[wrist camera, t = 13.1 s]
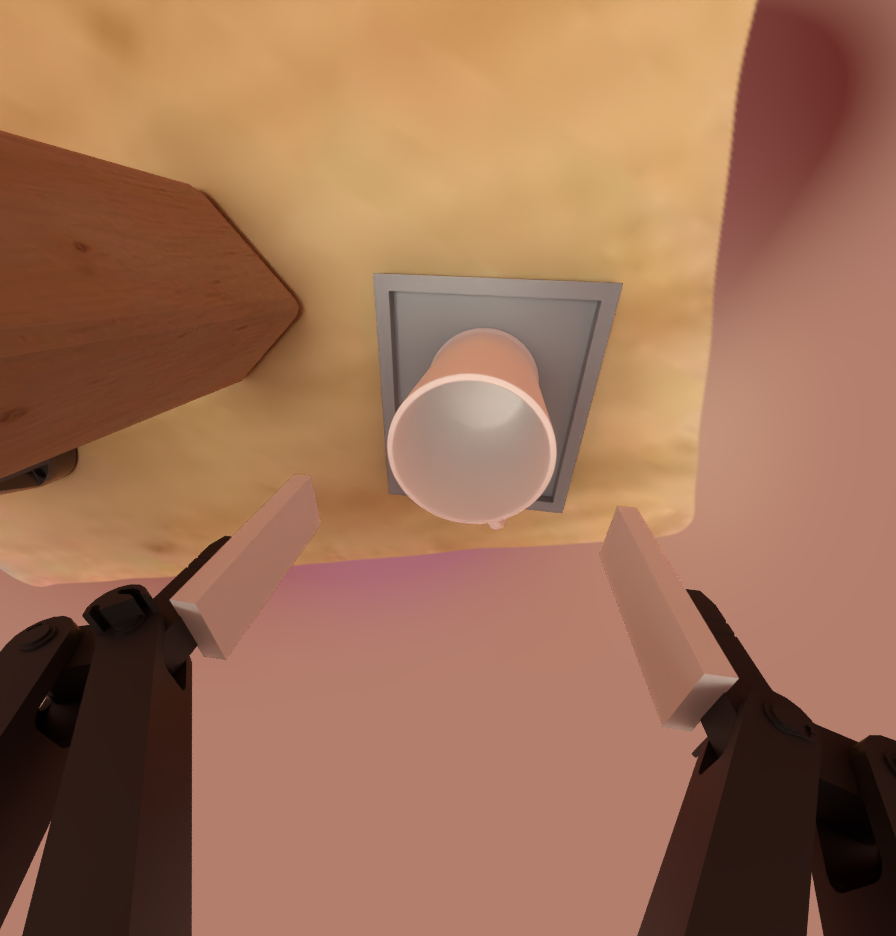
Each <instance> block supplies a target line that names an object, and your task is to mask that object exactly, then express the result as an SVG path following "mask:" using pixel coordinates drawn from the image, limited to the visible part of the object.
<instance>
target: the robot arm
mask: <svg viewBox="0 0 896 936" xmlns="http://www.w3.org/2000/svg"><path fill="white" fill-rule="evenodd" d="M75 463H76V450H75V448H74V449H72V450H70V451H67V452H65V453H62V454H60V455H57V456H55V457H52V458H50V459H47V460H45V461H42V462H40V463H38V464H35V465H33V466H30V467H28V468H25V469H23V470H20V471H18V472H15V473H13V474H10V475H8V476H6V477H3V478H1V479H0V495H2V494H7V493H12V492H17V491H22V490H27V489H32V488H37V487H41V486H44V485H47V484H49V483H51V482H53V481H55V480H58V479H60V478H62V477H64V476H66V475H68V474H69V473H70V472H71V471H72V470H73V468H74V466H75ZM320 525H321V522H320V517H319V512H318V507H317V503H316V498H315V493H314V488H313V484H312V479H311V476H306V475H296V474H294V475H293V476H292V477H291V478H290V479H289V480H288V481H287V482H286V483H285V484H284V485H283V486H282V487H281V488H280V489H279V490H278V491H277V492H276V493H275V494H274V495H273V496H272V497H271V498H270V499H269V500H268V501H267V502H266V503H265V504H264V505H263V506H262V507H261V508H260V509H259V510H258V511H257V512H256V513H255V514H254V515H253V516H252V517H251V518H250V519H249V520H248V521H247V522H246V523H245V524H244V525H243V526H242V527H241V528H240V529H239V530H238V531H237V532H236V533H235V534H234V535H233V536H232V537H230V536H224V537H222V538H221V539H219V540H217V541H216V542H214V543H212V544H210V545H209V546H208V547H207V548H206V549H205V550H204V551H203V552H202V553H201V554H200V555H199V556H198V558H195V559H194V560H193V561H192V562H191V563H190V564H189V566H188V568H187V567H186V568H185V569H184V570H183V571H182V572H181V573H180V574H179V575H178V576H177V577H176V578H175V579H173V580H172V581H171V582H170V583H169V584H168V585H167V586H166V587H165V588H164V589H163V590H162V591H161V592H160V593H159V594H158V595H157V596H156V597H155V598H153V599H152V597H151V595H150V594H149V592H148V591H147V589H146V588H145V587H143V586H141V585H126V586H122V587H118V588H116V589H114V590H111V591H109V592H107V593H105V594H104V595H102V596H100V597H99V598H97V599H96V600H95V601H94V602H92V603H91V604H90V605H89V606H88V607H87V608H86V610H85V612H84V613H83V617H84V619H85V620H86V621H87V622H88V623H89V625H85V626H77V625H76V623H75V622H74V621H73V620H72V619H71V618H69V617H66V616H59V617H52V618H49V619H46V620H43V621H40V622H38V623H36V624H34V625H32V626H30V627H28V628H26V629H25V630H23V631H22V632H20V633H19V634H17V635H16V636H15V637H14V638H13V639H12V640H11V641H9V642H8V643H7V644H6V645H5V647H4V648H3V649H2V651H1V652H0V928H1V926H2V924H3V922H4V919H5V918H6V915H7V913H8V911H9V909H10V907H11V905H12V903H13V901H14V898H15V896H16V894H17V892H18V890H19V888H20V885H21V883H22V881H23V879H24V877H25V875H26V873H27V871H28V868H29V866H30V864H31V862H32V860H33V858H34V856H35V853H36V851H37V849H38V847H39V845H40V842H41V841H42V839H43V836H44V834H45V832H46V830H47V828H48V826H49V824H50V822H51V824H50V828H49V832H48V836H47V840H46V844H45V848H44V851H43V855H42V859H41V863H40V868H39V871H38V876H37V879H36V884H35V887H34V891H33V895H32V899H31V903H30V907H29V911H28V915H27V919H26V923H25V927H24V931H23V935H22V936H192V935H191V934H192V931H191V930H192V929H191V928H192V925H191V924H192V923H191V922H192V919H191V918H192V917H191V915H192V907H191V906H192V661H191V658H190V656H189V655H190V654H191V653H192V652H193V650H194V649H195V648H196V647H197V646H198V648H199V649H200V651H201V653H202V654H203V656H204V657H210V658H216V659H223V660H227V658H228V657H229V655H230V654H231V652H232V651H233V650H234V648H235V647H236V645H237V644H238V642H239V641H240V640H241V638H242V637H243V635H244V634H245V632H246V631H247V629H248V628H249V627H250V625H251V624H252V622H253V621H254V619H255V618H256V617H257V615H258V614H259V612H260V611H261V609H262V608H263V606H264V605H265V604H266V602H267V601H268V599H269V598H270V596H271V595H272V594H273V592H274V591H275V589H276V588H277V586H278V585H279V583H280V582H281V581H282V579H283V578H284V576H285V575H286V573H287V572H288V571H289V569H290V568H291V566H292V565H293V563H294V562H295V560H296V559H297V558H298V556H299V555H300V553H301V552H302V550H303V549H304V548H305V546H306V545H307V543H308V542H309V540H310V539H311V537H312V536H313V535H314V533H315V532H316V530H317V529H318V527H319V526H320ZM600 558H601V561H602V563H603V566H604V569H605V572H606V575H607V577H608V580H609V583H610V585H611V588H612V591H613V593H614V596H615V599H616V602H617V604H618V607H619V610H620V613H621V615H622V618H623V621H624V624H625V626H626V629H627V632H628V635H629V637H630V640H631V643H632V645H633V648H634V651H635V654H636V656H637V659H638V662H639V665H640V667H641V670H642V673H643V675H644V678H645V681H646V684H647V686H648V689H649V692H650V695H651V697H652V700H653V703H654V705H655V708H656V711H657V713H658V716H659V719H660V721H661V725H662V727H667V728H673V729H679V730H686V731H692V730H693V729H694V728H695V727H696V725H697V724H698V723H699V722H700V721H701V723H702V725H703V727H704V729H705V732H706V734H707V736H708V737H707V738H706V739H705V740H704V741H703V742H702V743H701V744H700V745H699V746H698V747H697V748H696V749H695V750H694V752H693V753H692V755H693V756H694V757H697V756H698V755H699V756H698V759H697V762H696V765H695V768H694V770H693V774H692V777H691V779H690V782H689V785H688V788H687V791H686V794H685V797H684V800H683V803H682V806H681V809H680V812H679V815H678V818H677V821H676V824H675V826H674V829H673V833H672V835H671V838H670V842H669V844H668V847H667V850H666V853H665V856H664V859H663V862H662V865H661V868H660V871H659V874H658V877H657V879H656V882H655V885H654V889H653V892H652V894H651V897H650V900H649V903H648V906H647V909H646V912H645V915H644V918H643V921H642V924H641V927H640V930H639V932H638V935H637V936H807V923H808V911H809V898H810V885H811V873H812V876H813V881H814V886H815V892H816V897H817V902H818V908H819V913H820V918H821V923H822V929H823V935H824V936H896V741H895V740H892V739H889V738H887V737H884V736H881V735H869V736H868V737H866V738H865V739H863V740H862V741H860V742H857V741H854V740H852V739H849V738H847V737H845V736H842V735H840V734H838V733H835V732H833V731H830V730H828V729H826V728H823V727H821V726H819V725H816V724H814V723H813V722H812V720H811V719H810V718H809V717H808V716H807V715H806V714H805V713H804V712H803V711H802V710H801V709H800V708H799V707H798V706H796V705H795V704H794V703H792V702H791V701H790V700H788V699H787V698H785V697H783V696H782V695H780V694H777V693H776V692H774V691H773V690H772V689H771V688H770V687H769V685H768V684H767V682H766V681H765V679H764V678H763V676H762V674H761V673H760V672H759V670H758V668H757V667H756V666H755V664H754V662H753V661H752V659H751V658H750V657H749V655H748V654H747V652H746V650H745V649H744V647H743V646H742V644H741V643H740V641H739V640H738V638H737V637H735V636H734V632H733V631H732V629H731V628H730V626H729V625H728V624H726V620H725V619H724V617H723V616H722V614H721V613H720V611H719V610H718V608H717V607H716V605H715V604H714V603H713V602H712V601H710V599H708V598H707V597H706V596H705V595H704V594H703V593H702V592H701V591H697V590H689V589H685V588H684V586H683V584H682V583H681V581H680V580H679V578H678V576H677V574H676V573H675V571H674V569H673V568H672V566H671V564H670V563H669V561H668V559H667V558H666V556H665V554H664V553H663V551H662V549H661V548H660V546H659V544H658V543H657V541H656V539H655V538H654V536H653V534H652V533H651V531H650V529H649V528H648V526H647V524H646V522H645V521H644V519H643V517H642V516H641V514H640V512H639V511H638V509H637V508H634V507H623V506H617V508H616V510H615V513H614V516H613V519H612V521H611V524H610V527H609V530H608V532H607V535H606V538H605V540H604V543H603V546H602V549H601V551H600ZM45 697H46V699H45ZM44 699H45V701H44V703H43V704H42V706H41V707H40V705H41V703H42V702H43V700H44ZM39 707H40V708H39ZM51 819H52V820H51Z"/></svg>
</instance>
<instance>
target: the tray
mask: <svg viewBox="0 0 896 936" xmlns="http://www.w3.org/2000/svg"><path fill="white" fill-rule="evenodd" d="M373 276H374V290H375V304H376V318H377V333H378V347H379V361H380V376H381V390H382V404H383V418H384V433H385V447H386V461H387V475H388V490H389V494H395V495H404V496H408V495H407V494H406V493H405V492H404V491H403V490H402V488H401V487H400V485H399V484H398V482H397V480H396V479H395V477H394V475H393V472H392V470H391V467H390V463H389V459H388V452H387V440H388V433H389V429H390V425H391V422H392V420H393V418H394V415H395V414H396V412H397V410H398V408H399V407H400V406H401V404H402V403H403V401H404V400H405V399H406V398H407V396H408V395H409V394H410V392H411V391H412V390H413V389H414V387H415V386H416V385H417V383H418V382H419V381H420V380H421V378H422V377H423V376H424V374H425V373H426V372H427V371H428V369H429V368H430V367H431V364H432V361H433V359H434V357H435V355H436V354H437V352H438V351H439V350H440V348H441V347H442V346H443V345H444V344H445V343H446V342H447V341H448V340H450V339H451V338H452V337H454V336H455V335H457V334H459V333H461V332H464V331H467V330H470V329H475V328H493V329H498V330H501V331H504V332H507V333H509V334H511V335H512V336H514V337H516V338H517V339H518V340H519V341H521V342H522V343H523V344H524V345H525V346H526V348H527V349H528V350H529V352H530V353H531V355H532V357H533V359H534V361H535V363H536V366H537V370H538V376H539V387H540V390H541V393H542V396H543V399H544V403H545V406H546V409H547V412H548V415H549V418H550V421H551V424H552V427H553V431H554V434H555V439H556V448H557V455H556V464H555V468H554V472H553V475H552V477H551V480H550V482H549V484H548V485H547V487H546V489H545V490H544V492H543V493H542V494H541V495H540V497H539V498H538V499H537V500H536V501H535V502H534V503H533V504H531V505H530V506H529V507H528V508H526V509H529V510H538V511H546V512H555V513H562V512H563V508H564V505H565V501H566V497H567V493H568V490H569V486H570V482H571V478H572V474H573V471H574V467H575V463H576V459H577V455H578V452H579V448H580V444H581V440H582V436H583V433H584V429H585V425H586V421H587V418H588V414H589V410H590V406H591V402H592V399H593V395H594V391H595V387H596V383H597V380H598V376H599V372H600V368H601V364H602V361H603V357H604V353H605V349H606V346H607V342H608V338H609V334H610V330H611V327H612V323H613V319H614V315H615V311H616V308H617V304H618V300H619V296H620V292H621V289H622V285H623V283H611V282H586V281H561V280H536V279H511V278H486V277H461V276H436V275H411V274H386V273H373Z"/></svg>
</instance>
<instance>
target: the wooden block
mask: <svg viewBox="0 0 896 936" xmlns="http://www.w3.org/2000/svg"><path fill="white" fill-rule="evenodd" d="M299 308H300V307H299V305H298V303H297V301H296V299H295V298H294V297H293V296H292V295H291V293H290V292H289V291H288V290H287V289H286V288H285V287H284V285H283V284H282V283H281V282H280V281H279V280H278V279H277V277H276V276H275V275H274V274H273V273H272V272H271V271H270V269H269V268H268V267H267V266H266V265H265V264H264V263H263V261H262V260H261V259H260V258H259V257H258V256H257V255H256V253H255V252H254V251H253V250H252V249H251V248H250V247H249V245H248V244H247V243H246V242H245V241H244V240H243V239H242V237H241V236H240V235H239V234H238V233H237V232H236V231H235V229H234V228H233V227H232V226H231V225H230V224H229V223H228V221H227V220H226V219H225V218H224V217H223V216H222V215H221V213H220V212H219V211H218V210H217V209H216V208H215V207H214V205H213V204H212V203H211V202H210V201H209V200H208V199H207V197H206V196H205V195H204V194H202V193H201V192H200V191H199V190H197V189H196V188H194V187H192V186H191V185H189V184H185V183H182V182H178V181H175V180H171V179H168V178H164V177H161V176H157V175H154V174H150V173H147V172H143V171H140V170H136V169H133V168H129V167H126V166H122V165H119V164H115V163H112V162H108V161H105V160H101V159H98V158H95V157H91V156H88V155H84V154H81V153H77V152H74V151H70V150H67V149H63V148H60V147H56V146H53V145H49V144H46V143H42V142H39V141H35V140H32V139H28V138H25V137H21V136H18V135H14V134H11V133H7V132H4V131H0V479H1V478H3V477H6V476H8V475H10V474H13V473H15V472H18V471H20V470H23V469H25V468H28V467H30V466H33V465H35V464H38V463H40V462H42V461H45V460H47V459H50V458H52V457H55V456H57V455H60V454H62V453H65V452H67V451H70V450H72V449H74V448H77V447H79V446H82V445H84V444H87V443H89V442H92V441H94V440H97V439H99V438H102V437H104V436H106V435H109V434H111V433H114V432H116V431H119V430H121V429H124V428H126V427H129V426H131V425H133V424H136V423H138V422H141V421H143V420H146V419H148V418H151V417H153V416H156V415H158V414H161V413H163V412H165V411H168V410H170V409H173V408H175V407H178V406H180V405H183V404H185V403H188V402H190V401H193V400H195V399H197V398H200V397H202V396H205V395H207V394H210V393H212V392H215V391H217V390H220V389H222V388H224V387H227V386H229V385H232V384H234V383H237V382H239V381H242V379H243V378H244V377H245V376H246V375H247V374H248V372H249V371H250V370H251V369H252V368H253V367H254V365H255V364H256V363H257V362H258V361H259V360H260V359H261V357H262V356H263V355H264V354H265V353H266V352H267V350H268V349H269V348H270V347H271V346H272V345H273V343H274V342H275V341H276V340H277V339H278V338H279V337H280V335H281V334H282V333H283V332H284V331H285V330H286V328H287V327H288V326H289V325H290V324H291V323H292V321H293V320H294V319H295V318H296V316H297V314H298V311H299Z"/></svg>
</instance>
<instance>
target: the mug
mask: <svg viewBox="0 0 896 936" xmlns="http://www.w3.org/2000/svg"><path fill="white" fill-rule="evenodd" d="M387 452H388V459H389V463H390V467H391V470H392V472H393V475H394V477H395V479H396V480H397V482H398V484H399V485H400V487H401V488H402V490H403V491H404V492H405V493H406V494H407V495H408V497H409V498H410V499H411V500H413V501H414V502H415V503H416V504H417V505H419V506H420V507H421V508H423V509H424V510H426V511H428V512H429V513H431V514H433V515H435V516H438V517H440V518H443V519H446V520H449V521H453V522H457V523H464V524H487V523H488V525H489V526H490V528H492V529H494V530H499V529H502V528H503V527H504V525H505V521H506V519H507V518H510V517H512V516H514V515H516V514H518V513H520V512H522V511H523V510H525V509H526V508H528V507H529V506H530V505H531V504H533V503H534V502H535V501H536V500H537V499H538V498H539V497H540V495H541V494H542V493H543V492H544V490H545V489H546V487H547V485H548V484H549V482H550V480H551V477H552V475H553V472H554V468H555V464H556V455H557V448H556V439H555V434H554V431H553V427H552V424H551V421H550V418H549V415H548V412H547V409H546V406H545V403H544V399H543V396H542V393H541V390H540V387H539V376H538V370H537V366H536V363H535V361H534V359H533V357H532V355H531V353H530V352H529V350H528V349H527V348H526V346H525V345H524V344H523V343H522V342H521V341H519V340H518V339H517V338H516V337H514V336H512V335H511V334H509V333H507V332H504V331H501V330H498V329H493V328H475V329H470V330H467V331H464V332H461V333H459V334H457V335H455V336H454V337H452V338H451V339H450V340H448V341H447V342H446V343H445V344H444V345H443V346H442V347H441V348H440V350H439V351H438V352H437V354H436V355H435V357H434V359H433V361H432V364H431V367H430V368H429V369H428V371H427V372H426V373H425V374H424V376H423V377H422V378H421V380H420V381H419V382H418V383H417V385H416V386H415V387H414V389H413V390H412V391H411V392H410V394H409V395H408V396H407V398H406V399H405V400H404V401H403V403H402V404H401V406H400V407H399V408H398V410H397V412H396V414H395V415H394V418H393V420H392V422H391V425H390V429H389V433H388V440H387Z"/></svg>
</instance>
